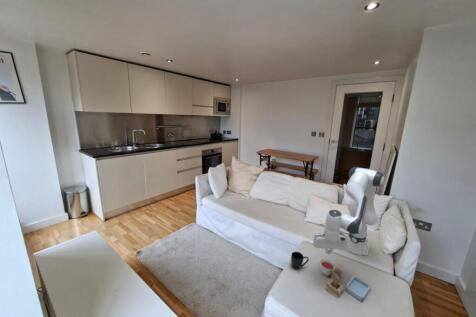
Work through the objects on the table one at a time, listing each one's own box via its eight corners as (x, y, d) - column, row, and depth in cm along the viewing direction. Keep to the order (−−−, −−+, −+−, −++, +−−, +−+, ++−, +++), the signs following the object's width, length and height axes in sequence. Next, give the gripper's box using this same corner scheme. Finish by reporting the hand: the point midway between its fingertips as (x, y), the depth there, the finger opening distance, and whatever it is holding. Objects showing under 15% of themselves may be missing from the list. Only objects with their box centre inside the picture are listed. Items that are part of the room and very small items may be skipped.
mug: (308, 272, 136) (310, 261, 134) (290, 270, 138) (292, 258, 136) (306, 263, 144) (307, 253, 142) (289, 261, 146) (291, 250, 144)
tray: (353, 278, 132) (354, 275, 131) (370, 289, 125) (371, 285, 124) (344, 290, 124) (345, 286, 123) (361, 302, 116) (362, 298, 115)
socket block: (331, 282, 129) (332, 277, 128) (343, 291, 123) (344, 286, 122) (325, 289, 124) (326, 283, 123) (337, 298, 118) (338, 293, 117)
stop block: (336, 273, 136) (337, 267, 135) (340, 276, 134) (341, 270, 133) (330, 279, 131) (331, 273, 130) (335, 282, 129) (336, 276, 128)
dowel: (333, 287, 126) (335, 274, 123) (337, 290, 123) (340, 277, 121) (331, 289, 124) (333, 276, 121) (335, 293, 122) (338, 280, 119)
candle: (328, 279, 132) (329, 271, 130) (316, 270, 139) (317, 262, 137) (335, 273, 136) (337, 265, 135) (324, 264, 144) (325, 257, 142)
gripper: (316, 236, 122) (313, 255, 125) (349, 238, 121) (345, 257, 124) (313, 230, 128) (310, 248, 131) (344, 232, 127) (341, 250, 130)
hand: (327, 253), depth 128 cm, fingers closed
